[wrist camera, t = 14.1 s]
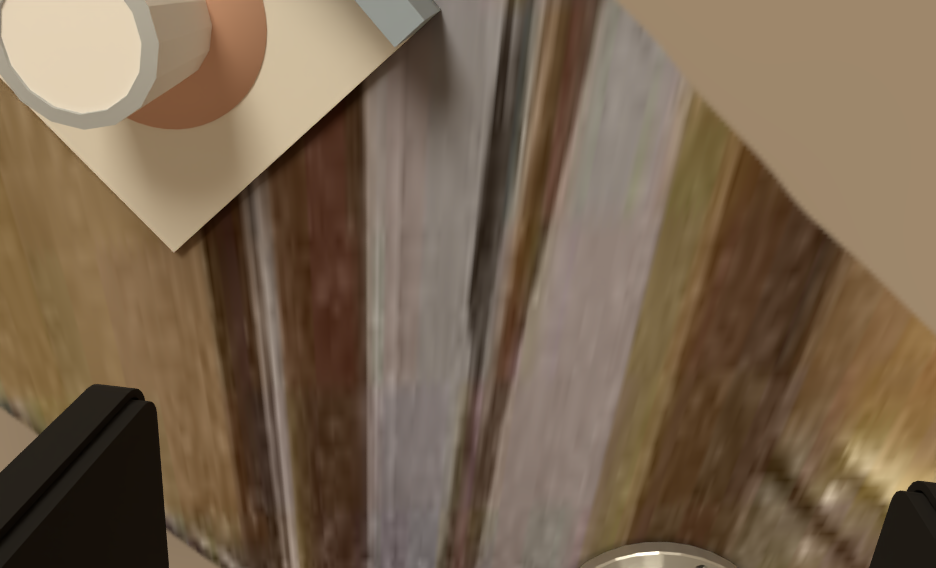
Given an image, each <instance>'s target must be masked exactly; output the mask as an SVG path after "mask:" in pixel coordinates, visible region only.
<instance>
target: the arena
mask: <svg viewBox="0 0 936 568" xmlns="http://www.w3.org/2000/svg"><path fill="white" fill-rule="evenodd" d="M205 1H206V4H207V8H208V12H209V16H210V20H211V23H212V31H211V41H210V50H209V52H208V54H207V55H206V57H205V59H204V61H203V62H202V64H201V66H200V68H199V70H197V71H196V72H195V73H193V74H192V75H190V76H189V77H187V78H186V79H185V80H183V81H182V82H180V83H179V84H177V85H176V86H174V87H173V88H171V89H170V90H168V91H167V92H165V93H163V94H162V95H160V96H159V97H157V98H156V99H154V100H153V101H151V102H150V103H148V104H147V105H145V106H144V107H142V108H140V109H139V110H137V111H136V112H134V113H133V114H131V115H130V116H128V117H127V118H125V119H124V120H122V121H121V122H119V123H118V124H116V125H111V126H105V127H99V128H92V129H86V130H83V129H79V128H75V127H71V126H67V125H63V124H59V123H55V122H51V121H50V120H48V119H47V118H45V117H44V116H42V115H41V114H39V113H38V112H36V111H35V110H33V109H32V108H31V109H32V110H33V111H34V112H35V113H36V114H37V115H38V116H39V117H40V118H41V119H42V120H43V121H44V122H45V123H46V124H47V125H48V126H49V127H50V128H51V129H52V130H53V131H54V132H55V134H56V135H57V136H58V137H59V138H60V139H61V140H62V141H63V142H64V143H65V144H66V145H67V146H68V147H69V148H70V149H71V150H72V151H73V152H74V153H75V154H76V155H77V156H78V157H79V158H80V159H81V160H82V161H83V162H84V163H85V164H86V165H87V166H88V167H89V168H90V169H91V170H92V171H93V172H94V173H95V174H96V175H97V176H98V177H99V178H100V179H101V180H102V181H103V182H104V183H105V184H106V185H107V186H108V187H109V188H110V189H111V190H112V191H113V192H114V193H115V194H116V195H117V196H118V197H119V198H120V199H121V200H122V201H123V202H124V203H125V204H126V205H127V206H128V207H129V208H130V209H131V210H132V211H133V212H134V213H135V214H136V215H137V216H138V217H139V218H140V219H141V220H142V221H143V222H144V223H145V224H146V225H147V226H148V227H149V228H150V229H151V230H152V231H153V232H154V233H155V234H156V235H157V236H158V237H159V238H160V239H161V240H162V241H163V242H164V243H165V244H166V245H167V246H168V247H169V248H170V249H171V250H172V251H173V252H175V251H176V250H177V249H179V248H180V247H181V246H182V245H183V244H184V243H185V242H186V241H187V240H188V239H190V238H191V237H192V236H193V235H194V234H195V233H196V232H197V231H198V230H199V229H201V228H202V227H203V226H204V225H205V224H206V223H207V222H208V221H209V220H210V219H212V218H213V217H214V216H215V215H216V214H217V213H218V212H219V211H220V210H221V209H223V208H224V207H225V206H226V205H227V204H228V203H229V202H230V201H231V200H232V199H234V198H235V197H236V196H237V195H238V194H239V193H240V192H241V191H242V190H243V189H244V188H246V187H247V186H248V185H249V184H250V183H251V182H252V181H253V180H254V179H255V178H257V177H258V176H259V175H260V174H261V173H262V172H263V171H264V170H265V169H266V168H268V167H269V166H270V165H271V164H272V163H273V162H274V161H275V160H276V159H277V158H279V157H280V156H281V155H282V154H283V153H284V152H285V151H286V150H287V149H288V148H290V147H291V146H292V145H293V144H294V143H295V142H296V141H297V140H298V139H299V138H301V137H302V136H303V135H304V134H305V133H306V132H307V131H308V130H309V129H310V128H312V127H313V126H314V125H315V124H316V123H317V122H318V121H319V120H320V119H321V118H323V117H324V116H325V115H326V114H327V113H328V112H329V111H330V110H331V109H332V108H334V107H335V106H336V105H337V104H338V103H339V102H340V101H341V100H342V99H343V98H345V97H346V96H347V95H348V94H349V93H350V92H351V91H352V90H353V89H354V88H355V87H357V86H358V85H359V84H360V83H361V82H362V81H363V80H364V79H365V78H366V77H368V76H369V75H370V74H371V73H372V72H373V71H374V70H375V69H376V68H377V67H379V66H380V65H381V64H382V63H383V62H384V61H385V60H386V59H387V58H388V57H390V56H391V55H392V54H393V53H394V52H395V51H396V50H397V49H398V48H399V47H401V46H402V45H403V44H404V43H405V42H406V41H407V40H408V39H409V38H410V37H412V36H413V35H414V34H415V33H416V32H417V31H418V30H419V29H420V28H421V27H423V26H424V25H425V24H426V23H427V22H428V21H429V20H430V19H431V18H432V17H434V16H435V15H436V14H437V13H438V12H439V11H440V10H441V9H440V8H439V7H438V5H437V4H436V3H435V2H434V1H433V0H205ZM0 78H1V79H2V80H3V81H4V82H5V83H6V81H5V80H4V79H3V77H2V76H1V75H0ZM6 84H7V83H6ZM7 85H8V84H7ZM8 86H9V85H8ZM9 87H10V86H9Z"/></svg>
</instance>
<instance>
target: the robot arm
mask: <svg viewBox="0 0 936 568" xmlns="http://www.w3.org/2000/svg"><path fill="white" fill-rule="evenodd" d="M167 549H168V548H167V536H166V522H165V510H164V497H163V484H162V471H161V459H160V446H159V433H158V420H157V411H156V407H155V405H154V403H152V402H150V401H145V398H144V395H143V393H142V392H141V391H140V390H139V389H135V388H126V387H118V386H109V385H101V384H94V385H92V386H90V387H89V388H87V389H86V390H85V391H84V392H83V393H82V394H81V395H80V396H79V397H78V398H77V399H76V400H75V401H74V402H73V403H72V404H71V405H70V406H69V407H68V408H67V409H66V410H65V411H64V412H63V413H62V414H61V415H59V416H58V417H57V418H56V419H55V420H54V421H53V422H52V423H51V424H50V425H49V426H48V427H47V428H46V429H45V430H44V431H43V432H42V433H41V434H40V435H39V436H38V437H37V438H36V439H35V440H34V441H33V442H32V443H31V444H30V445H28V446H27V447H26V449H24V450H23V451H22V452H21V453H20V454H19V455H18V456H17V457H16V458H15V459H14V460H13V461H12V462H11V463H10V464H9V465H8V466H7V467H6V468H5V469H4V470H3V471H1V472H0V568H169V561H168V550H167ZM580 568H738V567H737V566H735V565H734V564H733V563H731V562H730V561H728V560H726V559H724V558H722V557H720V556H718V555H716V554H714V553H712V552H710V551H707V550H704V549H701V548H698V547H694V546H691V545H685V544H678V543H671V542H644V543H638V544H632V545H626V546H622V547H619V548H616V549H613V550H610V551H607V552H604V553H602V554H601V555H599V556H597V557H595V558H593V559H591V560H589V561H587V562H586V563H585V564H584V565H582V566H581V567H580ZM869 568H936V483H933V482H924V481H916V482H913V483H912V484H911V485H910V486H909V487H908V490H907V491H898V492H896V493H895V494H894V496H893V498H892V500H891V503H890V506H889V509H888V512H887V515H886V518H885V521H884V524H883V527H882V530H881V533H880V536H879V539H878V542H877V545H876V549H875V552H874V555H873V558H872V561H871V564H870V567H869Z"/></svg>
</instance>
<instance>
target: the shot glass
mask: <svg viewBox="0 0 936 568" xmlns="http://www.w3.org/2000/svg"><path fill="white" fill-rule="evenodd" d="M211 31H212V23H211V20H210V16H209V12H208V8H207V4H206V1H205V0H0V75H1V76H2V77H3V79H4V80H5V81H6V83H7V84H8V85H9V86H10V88H11V89H12V90H13V92H14V93H15V94H16V95H17V97H18V98H19V99H20V101H21V102H23V103H24V104H26V105H27V106H29V107H30V108H32V109H33V110H35V111H36V112H38V113H39V114H41V115H42V116H44V117H45V118H47V119H48V120H50V121H51V122H55V123H59V124H63V125H67V126H71V127H75V128H79V129H83V130H86V129H92V128H99V127H105V126H111V125H116V124H118V123H119V122H121V121H122V120H124V119H125V118H127V117H128V116H130V115H131V114H133V113H134V112H136V111H137V110H139V109H140V108H142V107H144V106H145V105H147V104H148V103H150V102H151V101H153V100H154V99H156V98H157V97H159V96H160V95H162V94H163V93H165V92H167V91H168V90H170V89H171V88H173V87H174V86H176V85H177V84H179V83H180V82H182V81H183V80H185V79H186V78H187V77H189V76H190V75H192V74H193V73H195V72H196V71H197V70H199V68H200V66H201V64H202V62H203V61H204V59H205V57H206V55H207V54H208V52H209V50H210V41H211Z"/></svg>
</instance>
